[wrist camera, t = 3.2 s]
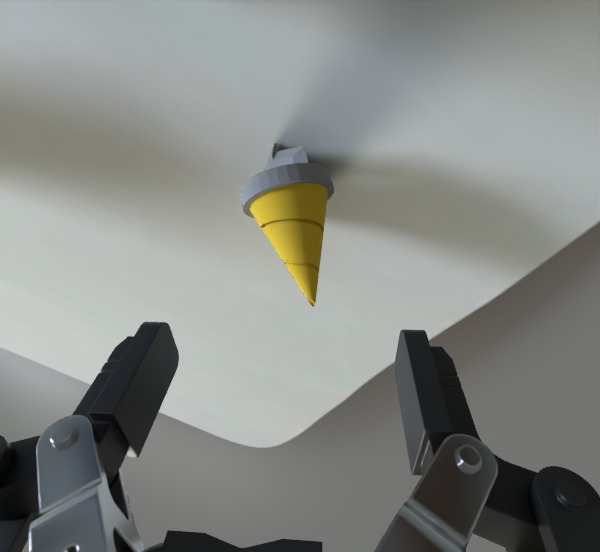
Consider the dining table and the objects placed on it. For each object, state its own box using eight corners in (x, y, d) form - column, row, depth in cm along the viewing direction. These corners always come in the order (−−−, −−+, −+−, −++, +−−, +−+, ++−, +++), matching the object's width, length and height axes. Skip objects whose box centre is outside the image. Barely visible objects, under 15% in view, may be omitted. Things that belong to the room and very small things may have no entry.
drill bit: (337, 124, 21) (381, 289, 20) (286, 169, 25) (319, 309, 24) (259, 105, 18) (304, 301, 16) (215, 160, 22) (248, 321, 20)
